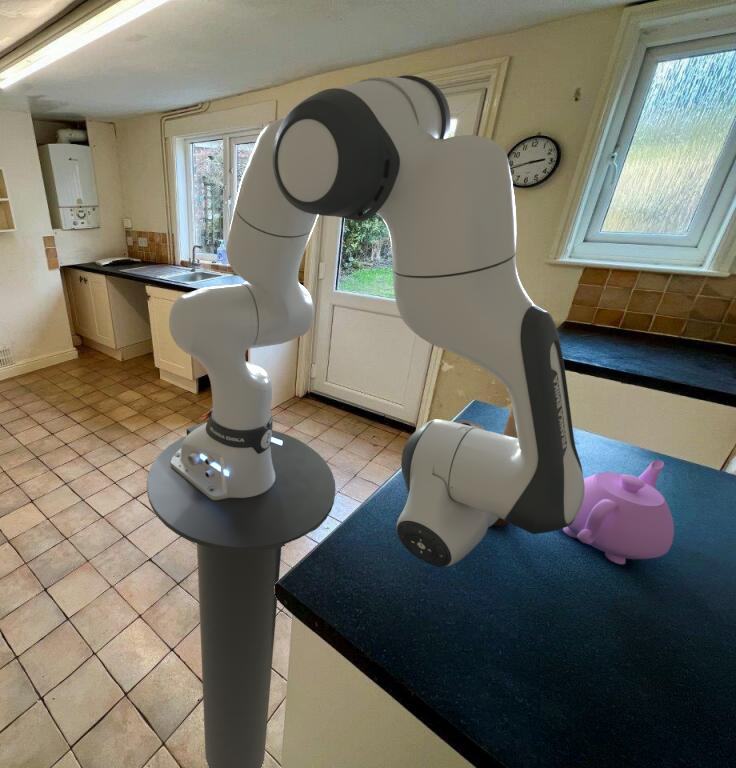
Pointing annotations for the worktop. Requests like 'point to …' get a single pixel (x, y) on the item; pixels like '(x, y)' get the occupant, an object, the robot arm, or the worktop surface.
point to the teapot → (624, 516)
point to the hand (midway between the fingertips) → (509, 452)
